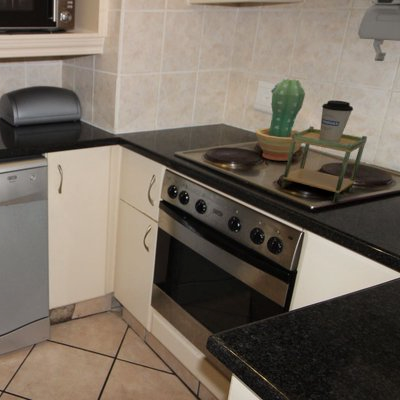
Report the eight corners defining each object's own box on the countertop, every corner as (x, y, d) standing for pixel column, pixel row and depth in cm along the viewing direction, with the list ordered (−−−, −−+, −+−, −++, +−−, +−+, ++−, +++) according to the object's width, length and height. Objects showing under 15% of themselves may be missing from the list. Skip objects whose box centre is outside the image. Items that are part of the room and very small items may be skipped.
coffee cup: (328, 136, 129) (337, 99, 126) (350, 142, 123) (361, 104, 119) (308, 137, 127) (316, 100, 123) (330, 144, 121) (340, 105, 117)
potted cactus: (304, 153, 161) (318, 78, 152) (302, 165, 148) (318, 83, 139) (254, 148, 168) (265, 75, 159) (249, 159, 155) (260, 81, 146)
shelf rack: (351, 191, 130) (367, 136, 124) (336, 202, 122) (352, 144, 116) (298, 178, 139) (310, 126, 133) (280, 187, 132) (292, 133, 126)
